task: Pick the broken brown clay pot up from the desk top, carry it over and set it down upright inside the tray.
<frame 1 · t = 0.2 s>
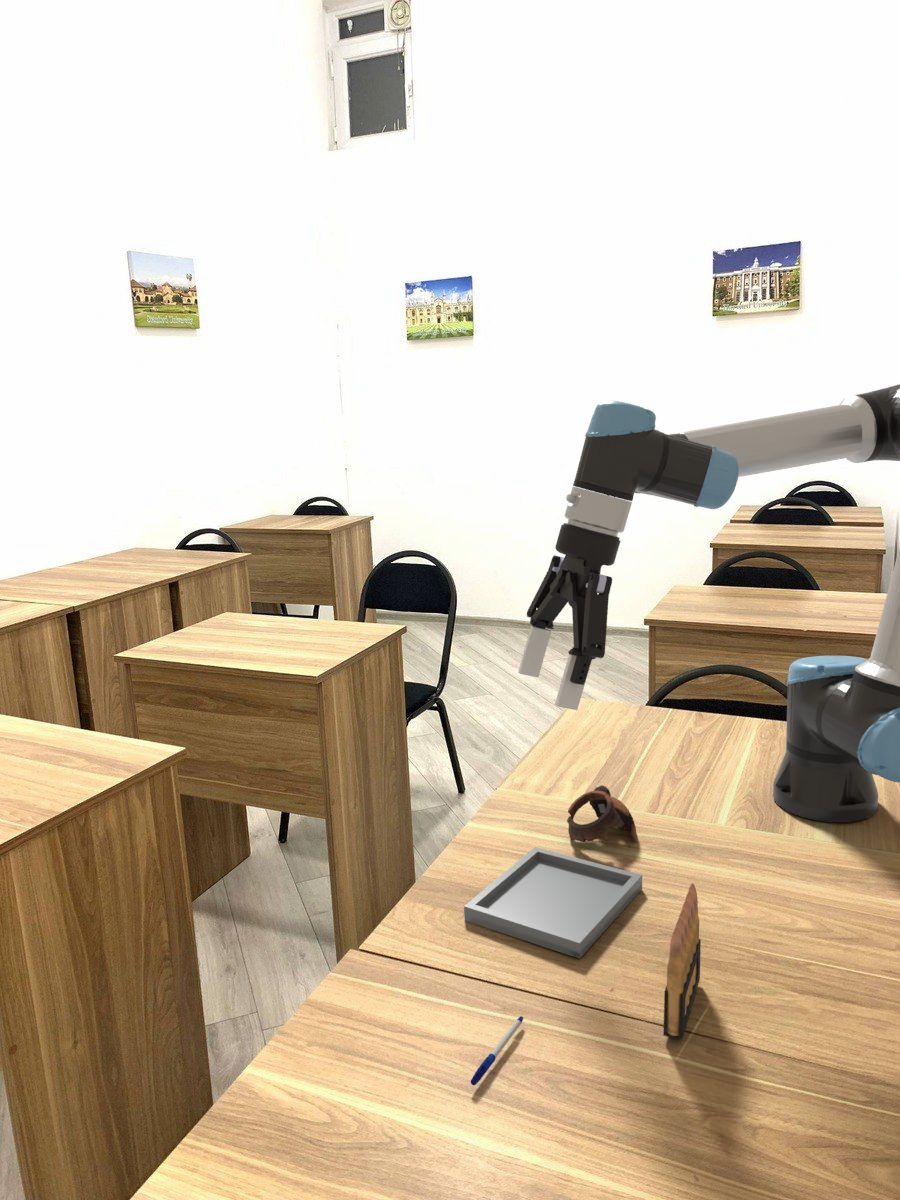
hand: (545, 690, 117), 27 cm above the table, tool tilted 20°, fingers open, 13 cm apart
tray: (555, 904, 118), on the table
ammunition clip: (682, 1007, 97), on the table
broken brown clay pot: (602, 838, 136), on the table
ballpoint pen: (498, 1053, 92), on the table
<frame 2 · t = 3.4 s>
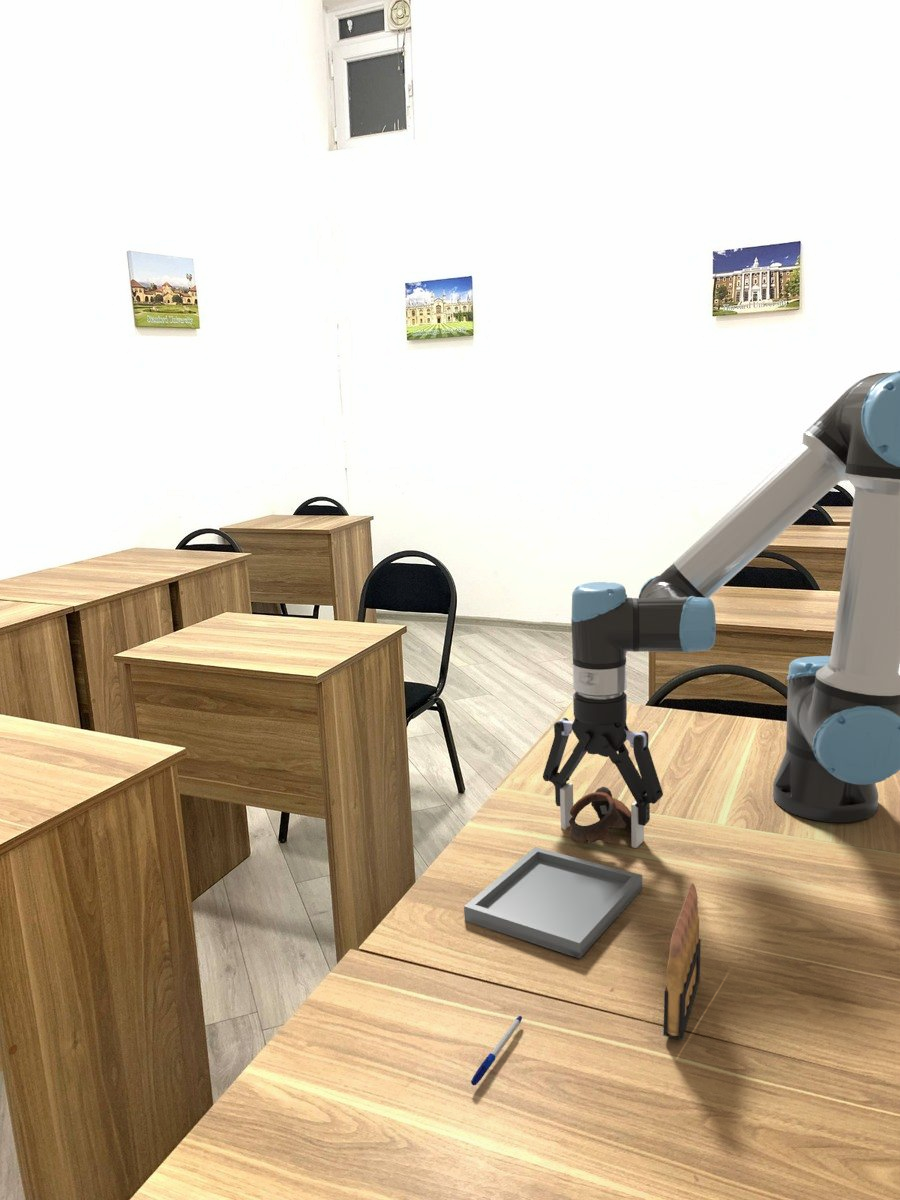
hand: (601, 835, 136), 0 cm above the table, tool pointing down, fingers open, 11 cm apart
broken brown clay pot: (604, 839, 136), on the table, touching gripper
everything else where it was.
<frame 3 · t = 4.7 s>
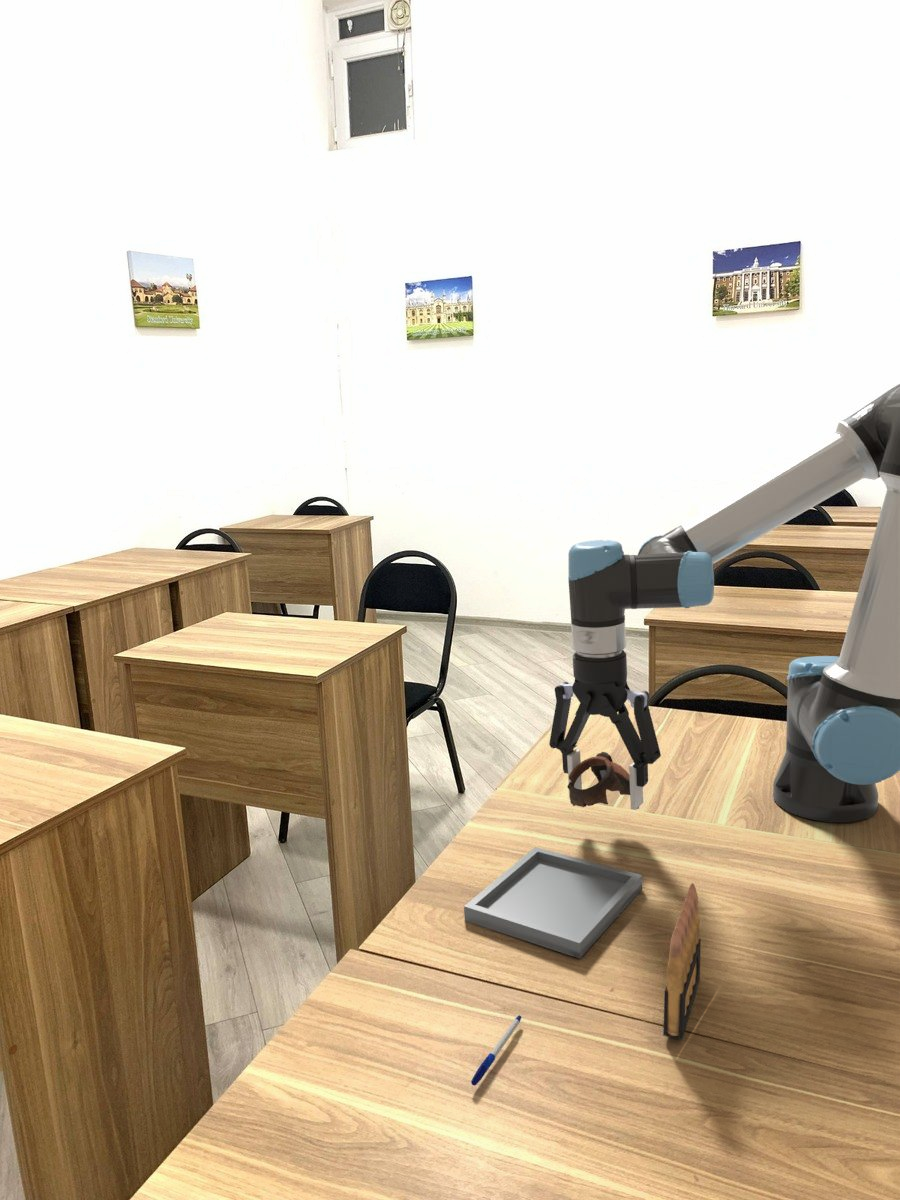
hand: (605, 799, 134), 6 cm above the table, tool pointing down, fingers closed on broken brown clay pot, 9 cm apart
broken brown clay pot: (604, 804, 135), point 5 cm above the table, touching gripper
everything else where it was.
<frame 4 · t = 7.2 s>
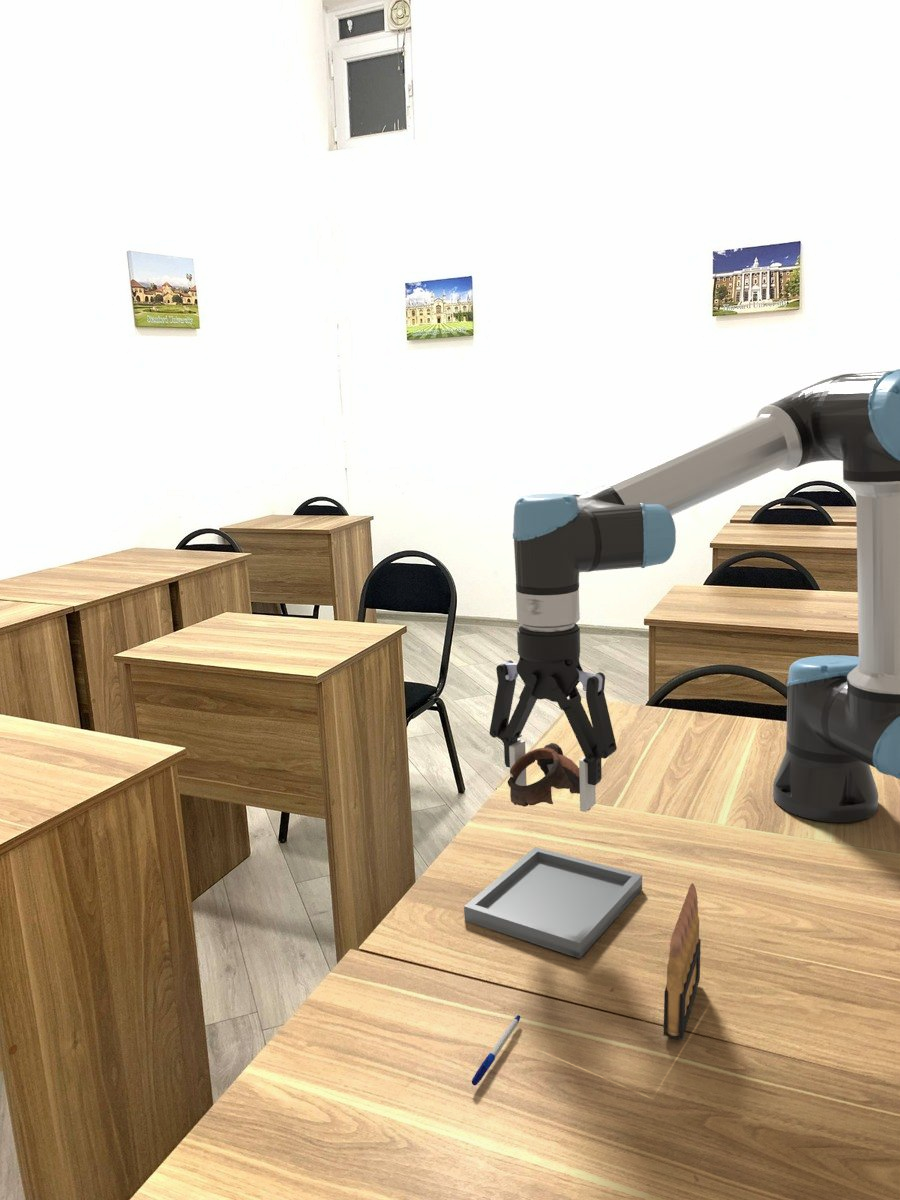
hand: (552, 799, 115), 14 cm above the table, tool pointing down, fingers closed on broken brown clay pot, 9 cm apart
broken brown clay pot: (551, 803, 116), point 14 cm above the table, touching gripper
everything else where it was.
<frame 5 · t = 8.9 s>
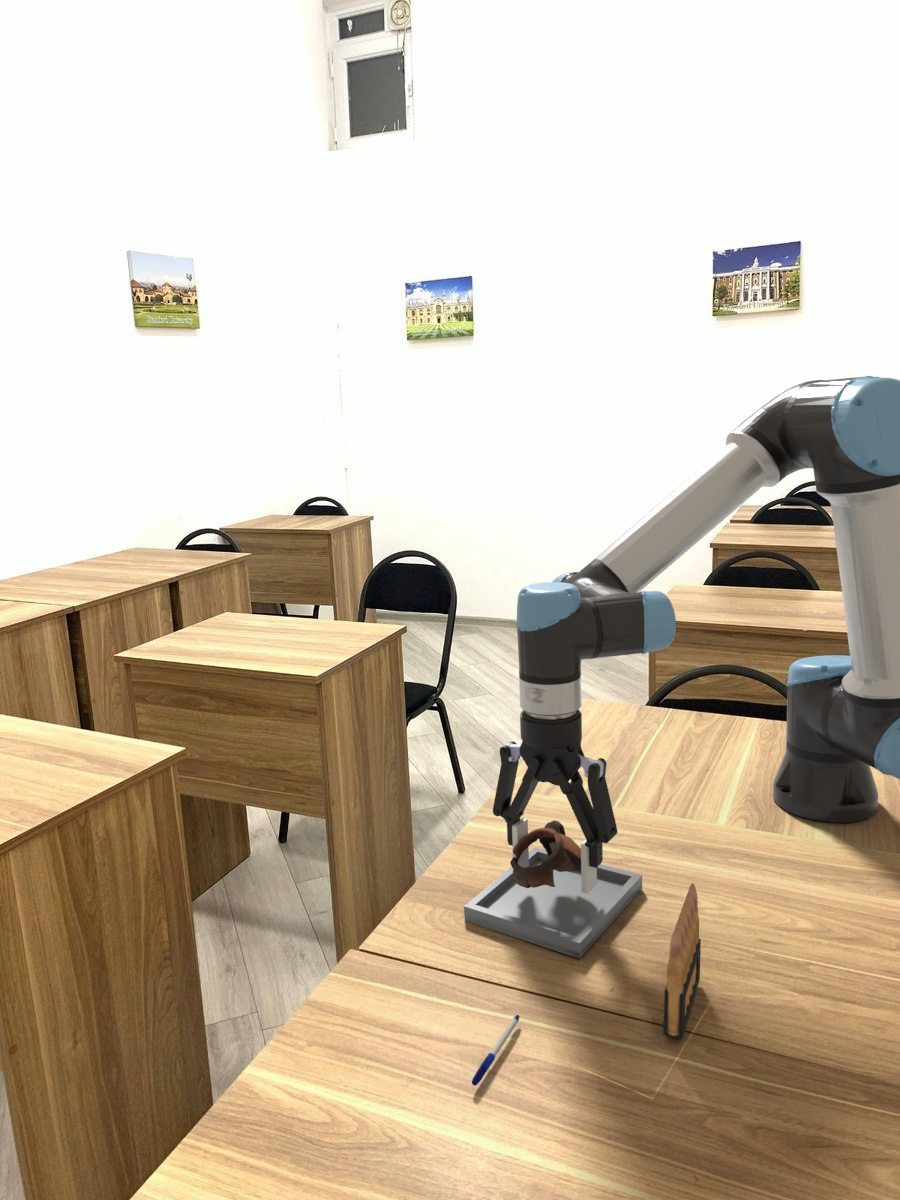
hand: (554, 878, 117), 4 cm above the table, tool pointing down, fingers closed on broken brown clay pot, 9 cm apart
broken brown clay pot: (553, 882, 118), point 3 cm above the table, touching gripper
everything else where it was.
when the fingers open (3 cm above the table, at t = 10.1 s): broken brown clay pot drops 1 cm, resting on tray.
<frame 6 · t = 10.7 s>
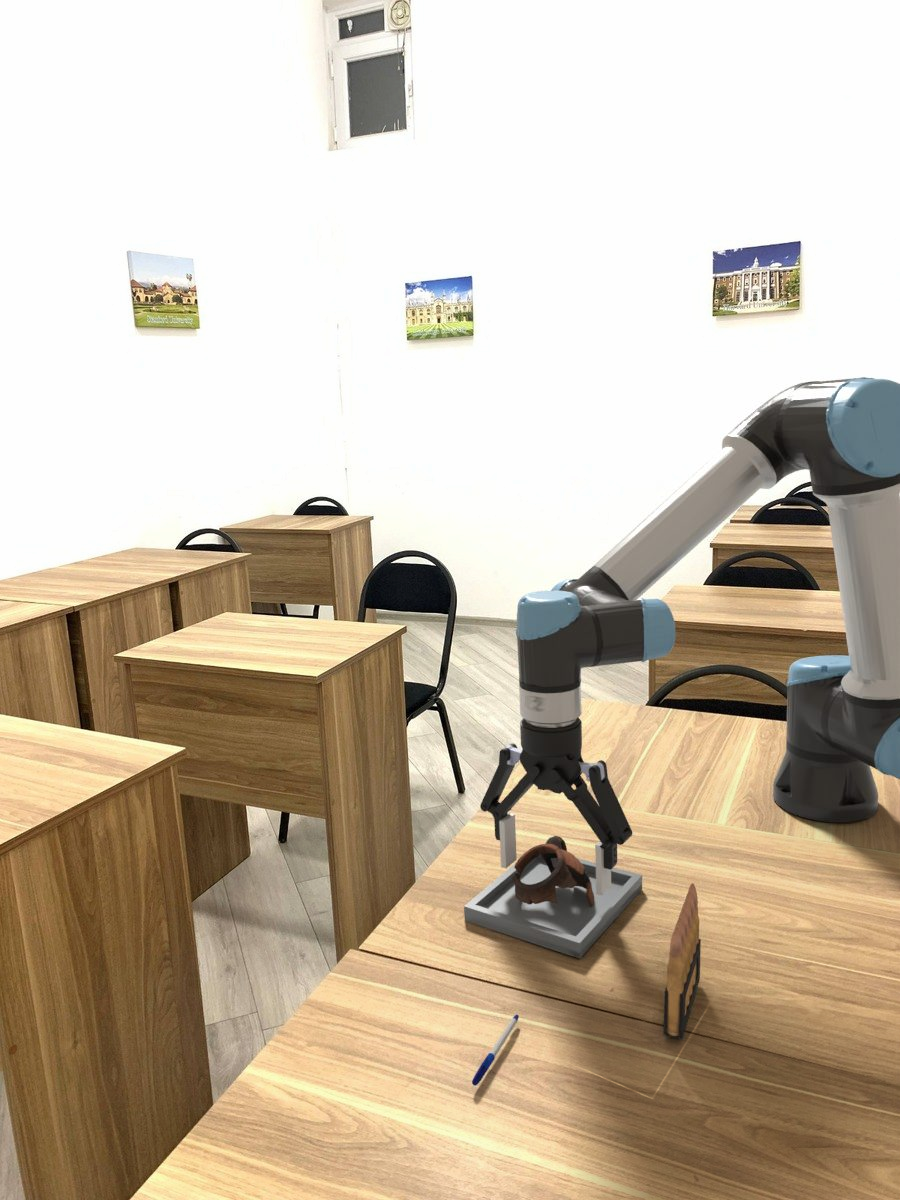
hand: (554, 876, 117), 4 cm above the table, tool pointing down, fingers open, 13 cm apart
broken brown clay pot: (555, 897, 118), point 1 cm above the table, touching tray
everything else where it was.
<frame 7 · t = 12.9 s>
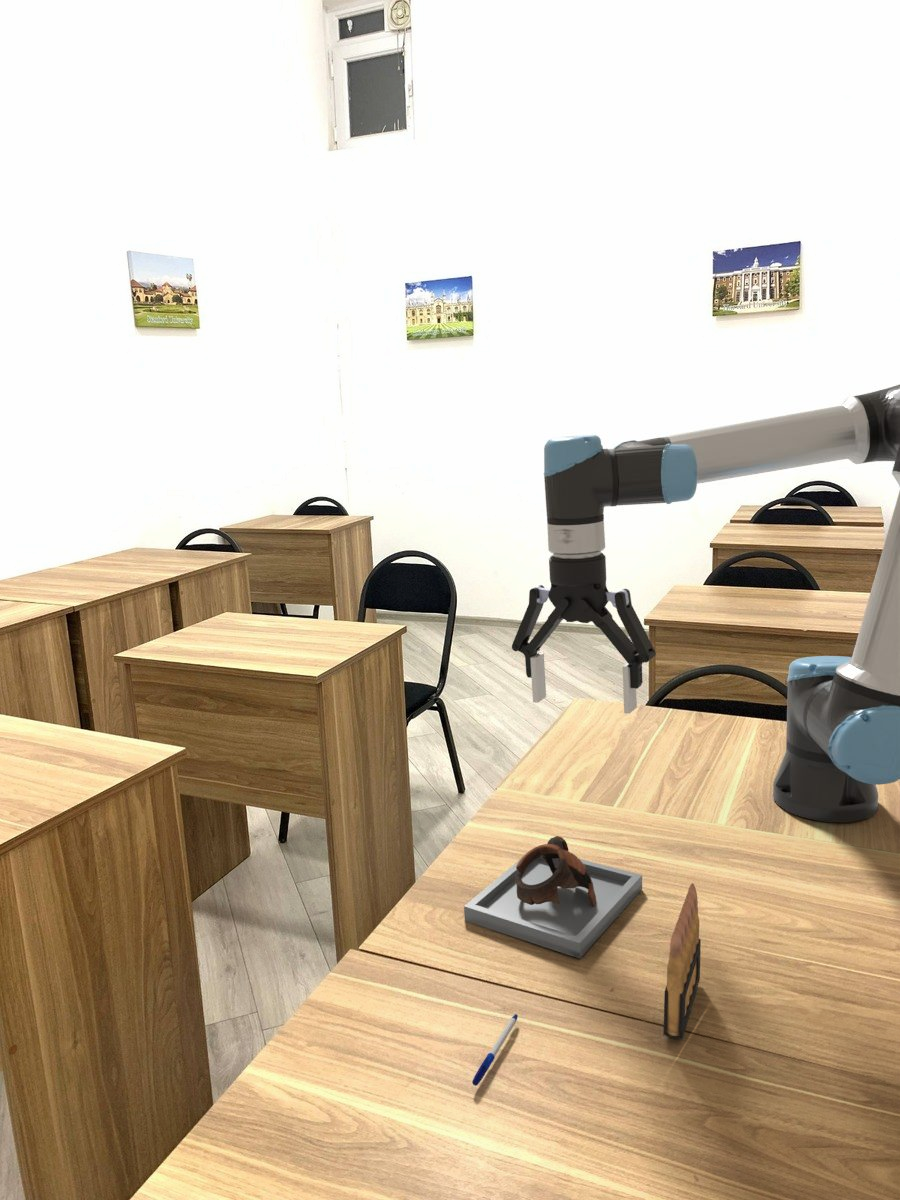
hand: (583, 705, 127), 22 cm above the table, tool pointing down, fingers open, 13 cm apart
nothing on the table moved.
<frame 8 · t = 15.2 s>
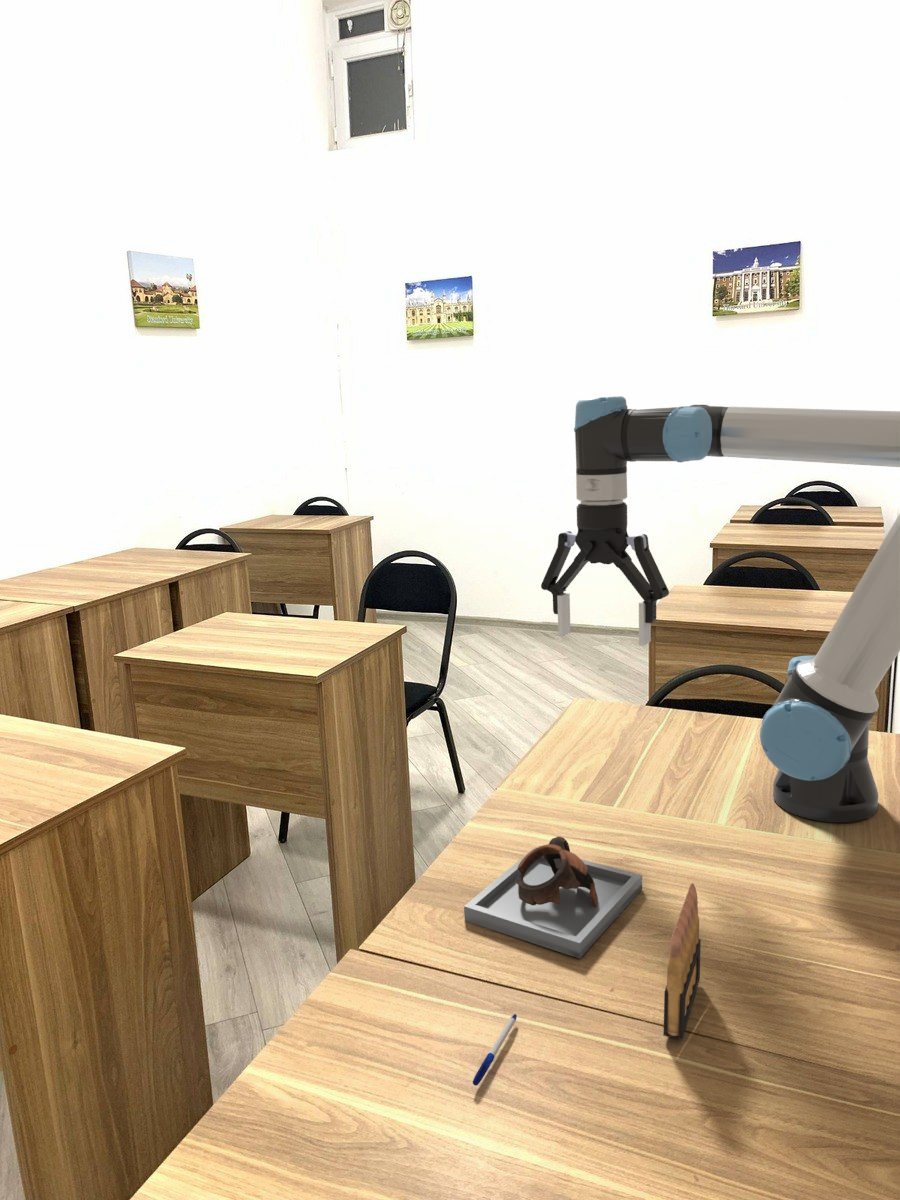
hand: (603, 639, 143), 27 cm above the table, tool pointing down, fingers open, 13 cm apart
nothing on the table moved.
at the end: broken brown clay pot inside the target area on the tray (0.4 cm from its centre), point 0.7 cm above the tray's base; broken brown clay pot tilted 0°; the gripper is holding nothing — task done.
